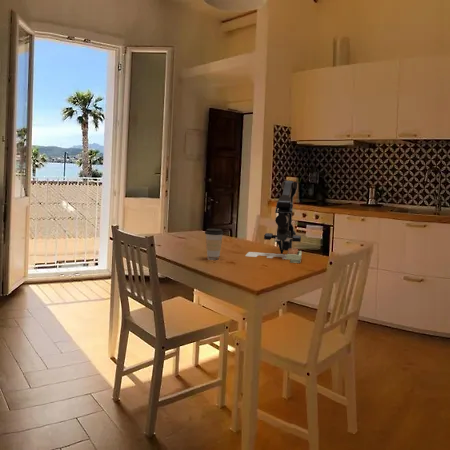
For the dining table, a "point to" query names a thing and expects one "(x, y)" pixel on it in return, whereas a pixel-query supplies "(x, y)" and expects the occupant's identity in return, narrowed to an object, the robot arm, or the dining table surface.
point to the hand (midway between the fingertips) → (281, 253)
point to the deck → (290, 257)
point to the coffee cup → (213, 243)
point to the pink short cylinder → (293, 251)
